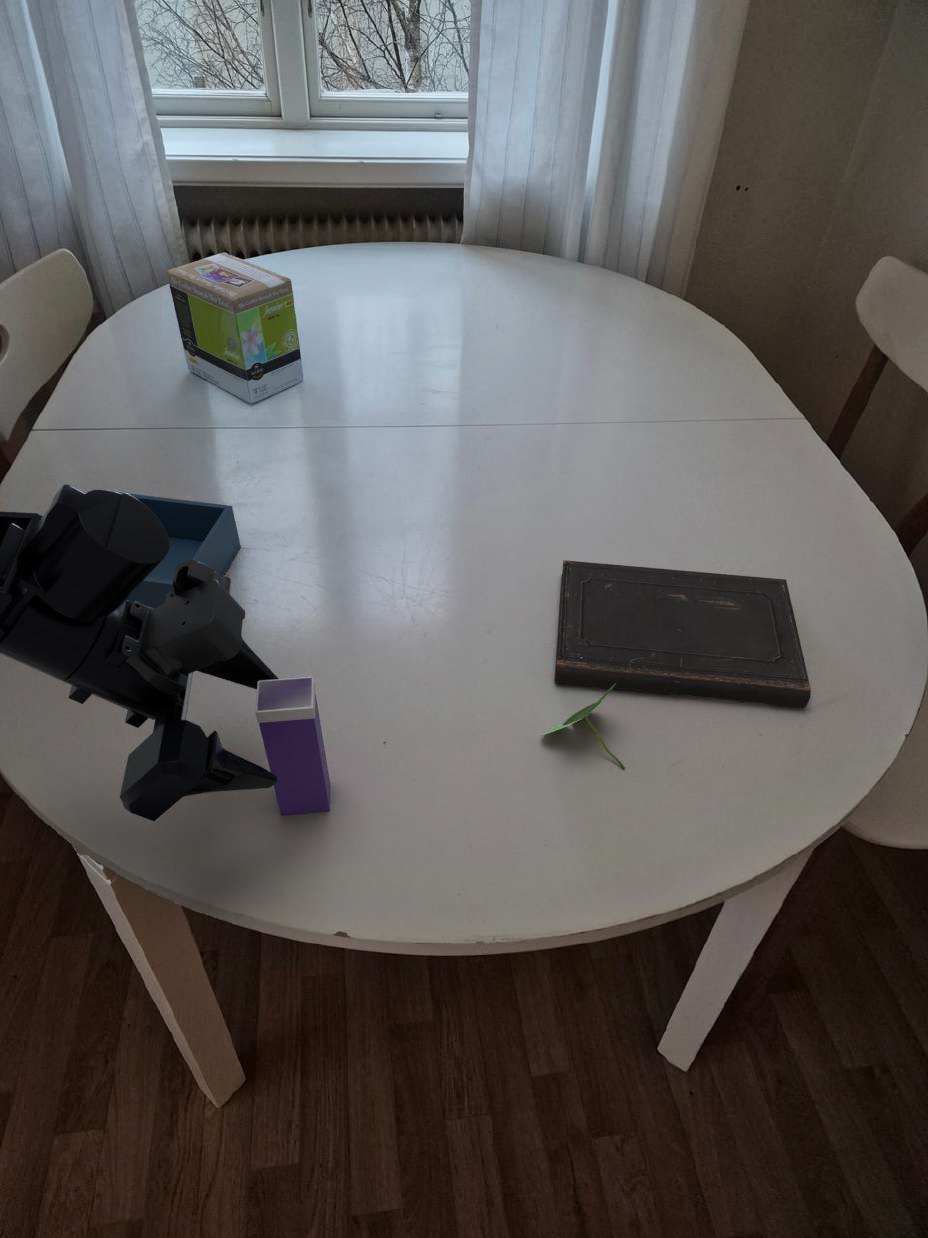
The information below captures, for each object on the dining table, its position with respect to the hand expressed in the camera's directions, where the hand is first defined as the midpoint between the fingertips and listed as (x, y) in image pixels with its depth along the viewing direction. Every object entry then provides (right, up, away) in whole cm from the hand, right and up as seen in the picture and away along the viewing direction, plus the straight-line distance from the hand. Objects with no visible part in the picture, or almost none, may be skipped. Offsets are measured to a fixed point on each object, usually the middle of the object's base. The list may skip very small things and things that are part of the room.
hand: (276, 733), depth 65 cm
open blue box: (-18, +13, +26) cm, 35 cm away
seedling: (+25, -3, +11) cm, 27 cm away
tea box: (-17, +44, +59) cm, 75 cm away
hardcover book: (+35, +7, +20) cm, 41 cm away
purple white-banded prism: (+1, -6, +6) cm, 9 cm away
